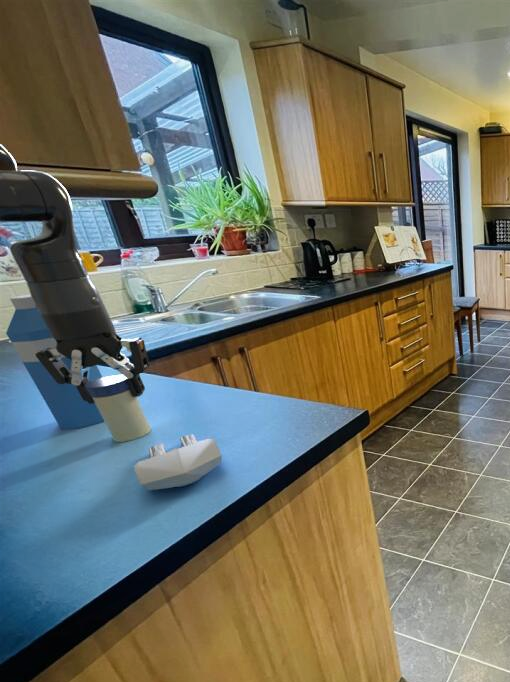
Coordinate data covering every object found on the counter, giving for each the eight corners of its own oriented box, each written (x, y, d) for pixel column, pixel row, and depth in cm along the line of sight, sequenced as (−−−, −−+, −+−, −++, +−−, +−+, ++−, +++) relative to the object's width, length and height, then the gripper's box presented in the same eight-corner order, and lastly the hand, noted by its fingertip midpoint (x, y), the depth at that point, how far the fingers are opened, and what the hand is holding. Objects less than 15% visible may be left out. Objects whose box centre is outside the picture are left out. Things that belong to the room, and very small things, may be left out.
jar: (107, 444, 72) (80, 392, 68) (121, 430, 77) (96, 380, 72) (144, 438, 74) (120, 386, 69) (156, 424, 78) (133, 375, 74)
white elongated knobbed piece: (211, 444, 75) (201, 421, 73) (232, 474, 61) (221, 446, 59) (141, 468, 68) (129, 443, 67) (147, 508, 54) (132, 477, 53)
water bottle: (74, 432, 76) (2, 303, 66) (47, 425, 80) (-26, 300, 69) (131, 410, 84) (74, 292, 74) (104, 405, 87) (46, 290, 77)
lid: (81, 399, 68) (76, 390, 67) (98, 387, 73) (94, 378, 72) (124, 393, 70) (120, 383, 69) (138, 381, 75) (134, 372, 74)
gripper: (136, 297, 71) (172, 384, 78) (30, 307, 67) (78, 397, 73) (115, 306, 65) (157, 399, 72) (-4, 317, 60) (53, 415, 67)
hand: (116, 398), depth 72 cm, fingers closed on lid, 5 cm apart
